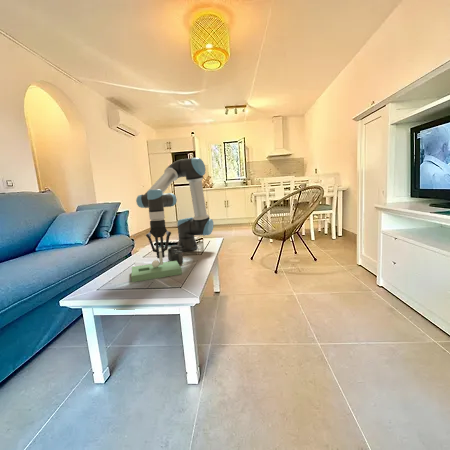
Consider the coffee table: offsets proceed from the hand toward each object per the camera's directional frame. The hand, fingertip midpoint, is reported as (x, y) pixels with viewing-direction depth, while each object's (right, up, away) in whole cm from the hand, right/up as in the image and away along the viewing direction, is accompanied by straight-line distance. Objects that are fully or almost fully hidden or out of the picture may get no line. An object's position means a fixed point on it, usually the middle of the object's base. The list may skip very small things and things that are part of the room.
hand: (161, 263), depth 129 cm
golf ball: (-3, 0, -1) cm, 3 cm away
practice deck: (-3, -5, 0) cm, 5 cm away
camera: (+4, -2, +20) cm, 20 cm away
